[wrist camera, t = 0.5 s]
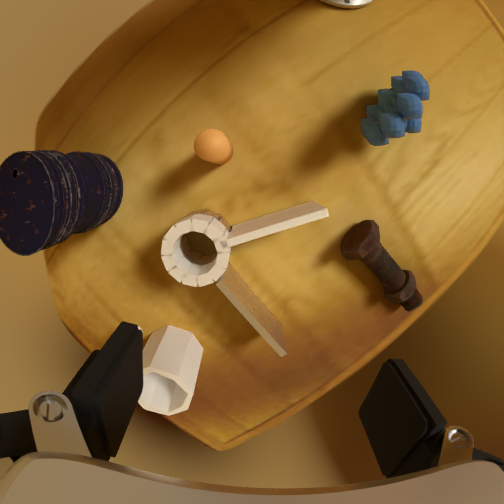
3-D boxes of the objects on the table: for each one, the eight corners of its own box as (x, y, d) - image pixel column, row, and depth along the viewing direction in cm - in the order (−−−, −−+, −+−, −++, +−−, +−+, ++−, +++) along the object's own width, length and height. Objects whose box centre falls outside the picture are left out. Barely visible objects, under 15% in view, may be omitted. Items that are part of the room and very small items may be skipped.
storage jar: (129, 220, 35) (64, 252, 20) (71, 230, 35) (0, 261, 20) (119, 145, 32) (49, 135, 18) (61, 162, 32) (-14, 165, 18)
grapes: (375, 169, 33) (427, 171, 22) (334, 135, 32) (374, 120, 21) (414, 107, 31) (469, 91, 19) (378, 74, 30) (425, 44, 18)
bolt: (399, 296, 40) (341, 232, 37) (426, 282, 37) (371, 212, 34) (401, 326, 36) (338, 260, 33) (431, 312, 33) (373, 238, 29)
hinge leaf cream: (188, 271, 36) (176, 293, 30) (169, 220, 34) (151, 232, 28) (320, 230, 35) (336, 244, 28) (305, 176, 33) (319, 178, 27)
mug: (214, 347, 40) (206, 393, 30) (182, 379, 41) (170, 424, 32) (145, 298, 38) (118, 334, 28) (119, 335, 39) (93, 374, 30)
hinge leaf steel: (208, 198, 34) (198, 205, 27) (298, 310, 38) (309, 339, 31) (166, 233, 35) (148, 248, 28) (258, 337, 39) (260, 369, 32)
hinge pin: (222, 134, 32) (213, 121, 23) (237, 153, 33) (234, 147, 24) (202, 150, 33) (187, 142, 24) (218, 169, 33) (207, 168, 25)
